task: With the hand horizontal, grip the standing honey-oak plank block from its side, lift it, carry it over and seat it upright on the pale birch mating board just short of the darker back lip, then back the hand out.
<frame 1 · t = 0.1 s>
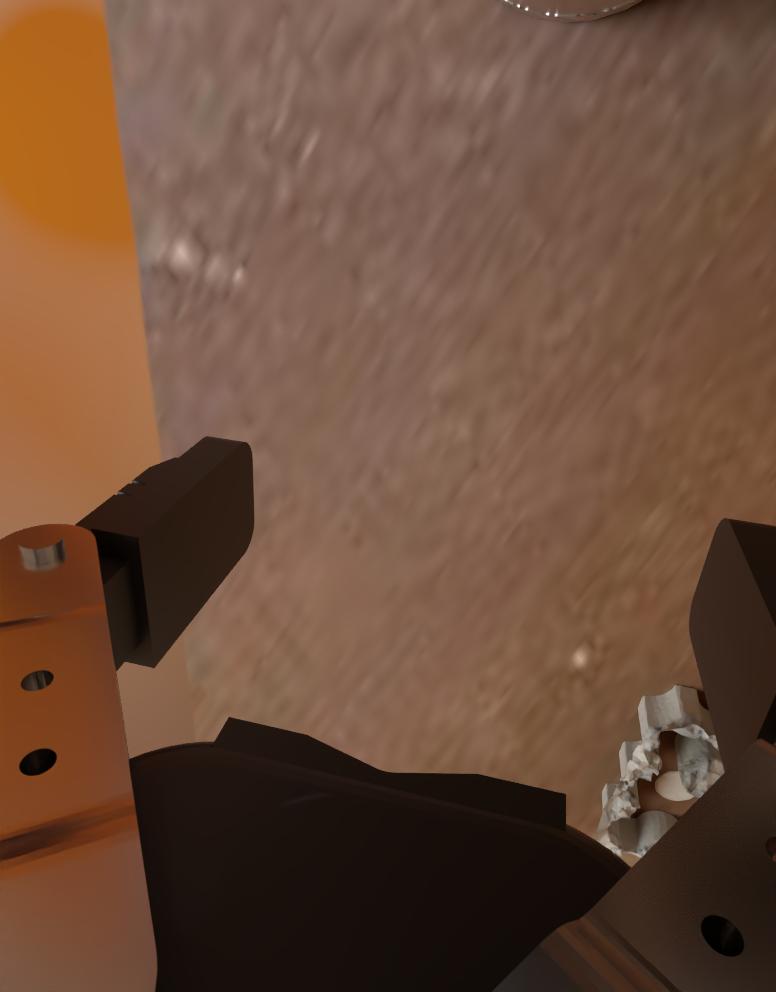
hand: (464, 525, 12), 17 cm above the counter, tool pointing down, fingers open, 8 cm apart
egg carton: (682, 757, 36), on the counter
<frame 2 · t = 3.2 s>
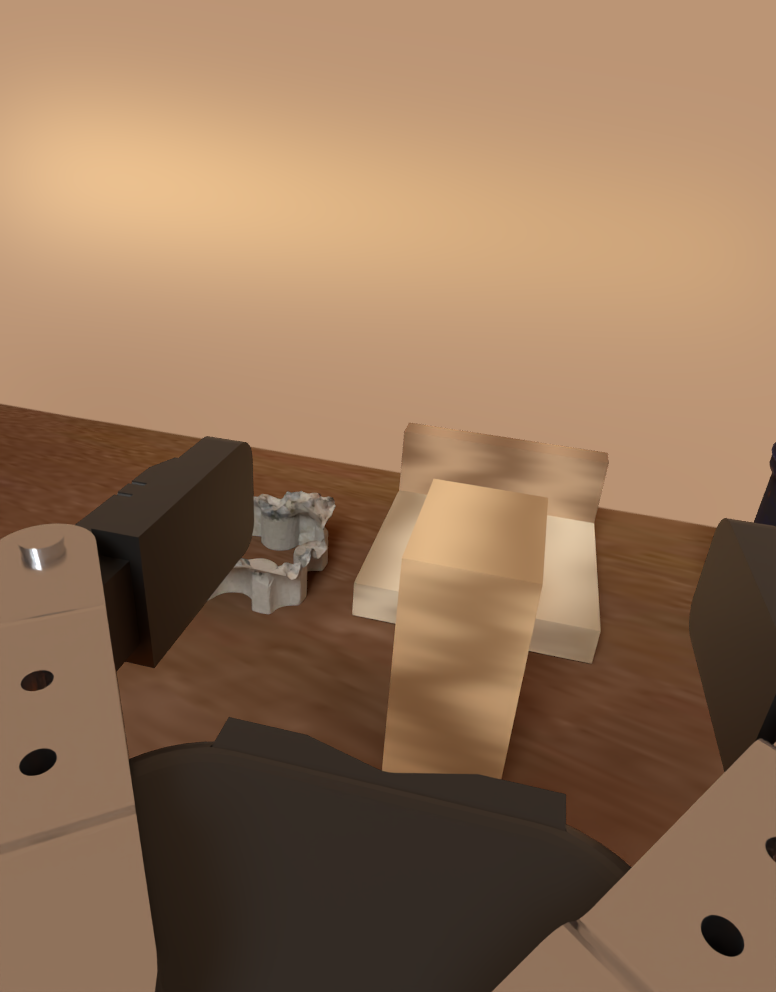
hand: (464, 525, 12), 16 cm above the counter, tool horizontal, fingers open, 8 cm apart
birch mating board: (481, 572, 40), on the counter
egg carton: (228, 572, 39), on the counter
oak plank block: (450, 728, 29), on the counter
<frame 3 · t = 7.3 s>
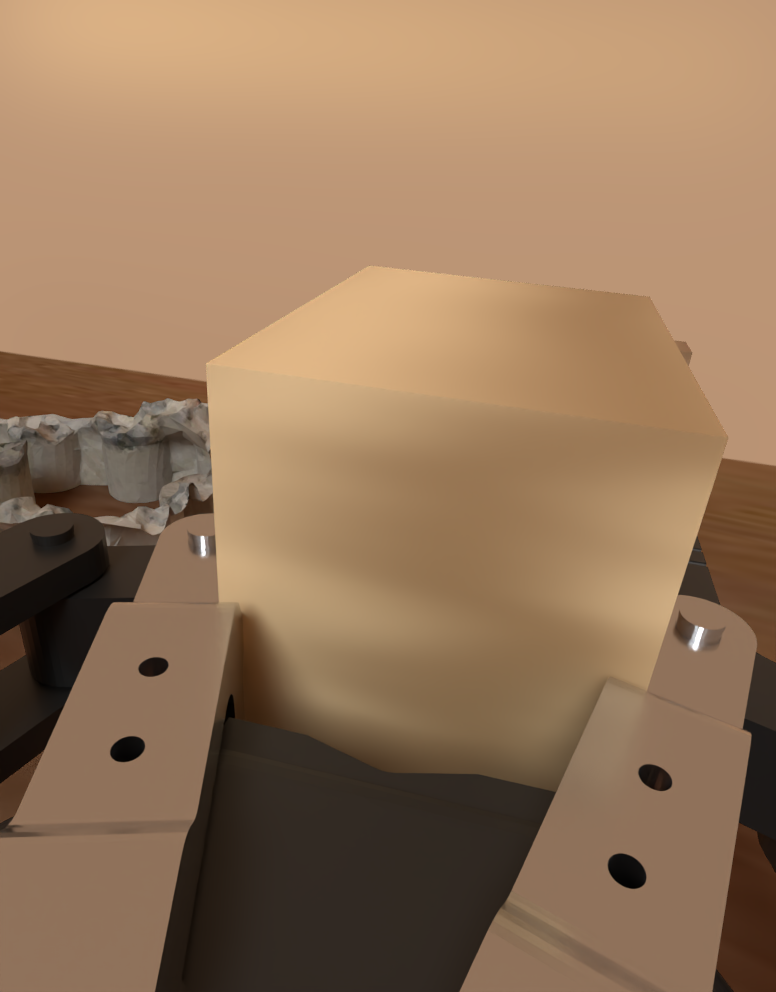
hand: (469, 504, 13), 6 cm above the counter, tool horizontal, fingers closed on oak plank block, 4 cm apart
egg carton: (49, 543, 22), on the counter
oak plank block: (415, 847, 13), on the counter, touching gripper
when the fingers open (9 cm above the counter, at t = 12.5 s): oak plank block stays where it is, resting on birch mating board.
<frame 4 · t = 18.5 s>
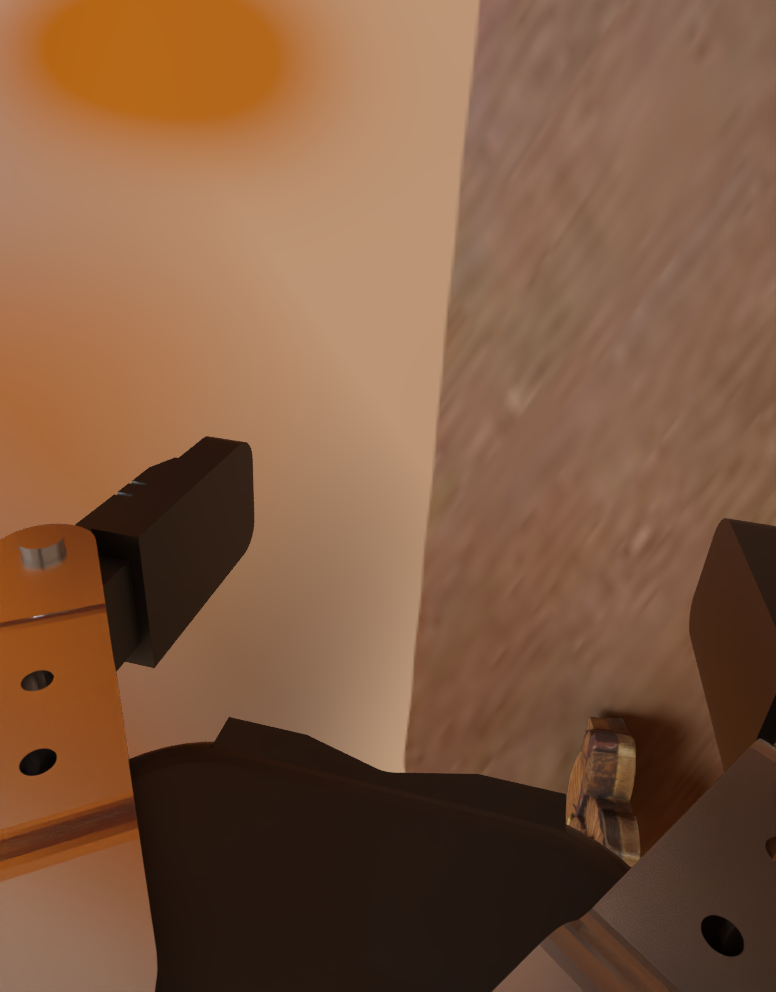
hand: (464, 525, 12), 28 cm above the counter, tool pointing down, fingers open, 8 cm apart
wooden carving: (592, 772, 51), on the counter
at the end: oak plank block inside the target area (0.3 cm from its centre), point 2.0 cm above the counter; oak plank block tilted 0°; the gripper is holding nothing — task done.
